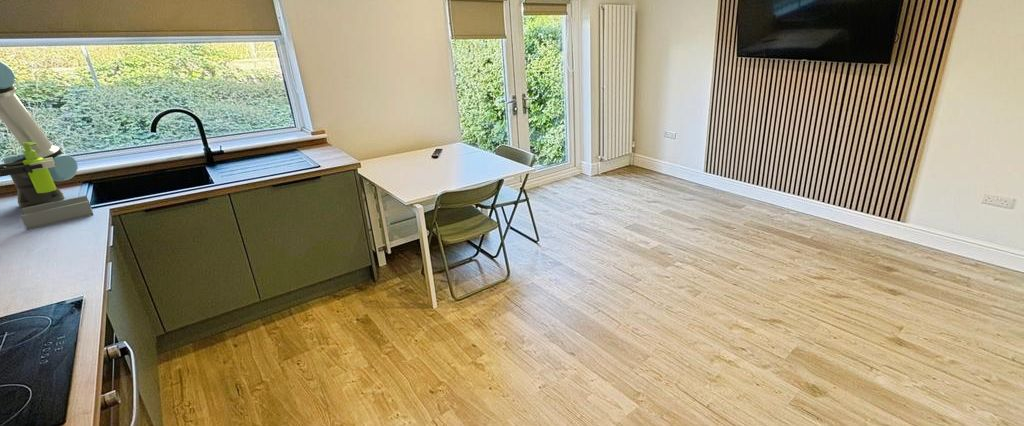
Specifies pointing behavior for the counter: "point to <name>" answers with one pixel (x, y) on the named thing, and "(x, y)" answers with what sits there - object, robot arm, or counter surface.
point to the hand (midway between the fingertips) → (53, 162)
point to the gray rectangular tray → (56, 212)
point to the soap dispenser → (38, 171)
